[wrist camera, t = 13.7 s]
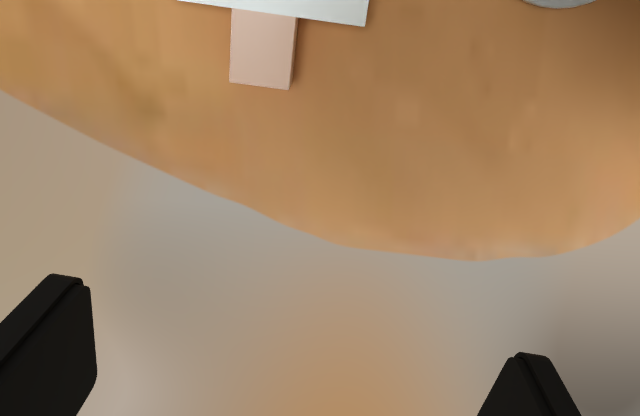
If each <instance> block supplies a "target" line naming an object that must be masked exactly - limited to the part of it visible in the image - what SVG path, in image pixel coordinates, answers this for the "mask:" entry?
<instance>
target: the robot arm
mask: <svg viewBox="0 0 640 416" xmlns="http://www.w3.org/2000/svg"><path fill="white" fill-rule="evenodd" d="M523 1H524V2H526V3H528V4H532V5H536V6H540V7H545V8H556V9H557V8H573V7H577V6H581V5H585V4H588V3H592V2H594V1H596V0H523ZM96 377H97V364H96V352H95V341H94V328H93V316H92V305H91V294H90V288H89V287H87V286H84V285H83V281H82V279H81V278H76V277H71V276H65V275H59V274H50V275H48V276H47V277H46V278H45V279H44V280H43V281H42V282H41V283H40V284H39V285H38V286H37V287H36V288H35V289H34V290H33V291H32V292H31V293H30V294H29V295H28V296H27V297H26V298H25V299H24V300H23V301H22V302H21V303H20V304H19V305H18V306H17V307H16V308H15V309H14V310H13V311H12V312H11V313H10V314H9V315H8V316H7V317H6V318H5V319H4V320H3V321H2V322H1V323H0V416H76V415H77V413H78V412H79V410H80V408H81V407H82V405H83V403H84V402H85V400H86V399H87V397H88V395H89V394H90V392H91V390H92V388H93V386H94V384H95V381H96ZM477 416H581V414H580V412H579V411H578V409H577V407H576V405H575V403H574V402H573V400H572V398H571V396H570V394H569V393H568V391H567V389H566V387H565V385H564V384H563V382H562V380H561V378H560V376H559V375H558V373H557V371H556V369H555V367H554V366H553V364H552V362H551V361H550V359H549V358H547V357H546V356H542V355H536V354H530V353H523V352H519V353H517V354H516V355H515V356H514V357H510V358H508V360H507V361H506V363H505V365H504V367H503V368H502V370H501V372H500V374H499V376H498V378H497V380H496V381H495V383H494V385H493V387H492V389H491V391H490V392H489V394H488V396H487V398H486V400H485V402H484V404H483V405H482V407H481V409H480V411H479V413H478V415H477Z"/></svg>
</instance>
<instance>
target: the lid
mask: <svg viewBox="0 0 640 416" xmlns="http://www.w3.org/2000/svg"><path fill="white" fill-rule="evenodd" d="M179 1H187V2H194V3H201V4H208V5H215V6H222V7H229V8H232V17H231V47H230V77H229V82H232V83H239V84H247V85H254V86H261V87H269V88H276V89H284V90H289V88H290V86H291V84H292V78H293V68H294V58H295V47H296V37H297V27H298V17H299V18H306V19H313V20H320V21H327V22H334V23H341V24H348V25H355V26H362V27H365V22H366V16H367V9H368V3H369V0H179Z"/></svg>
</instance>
